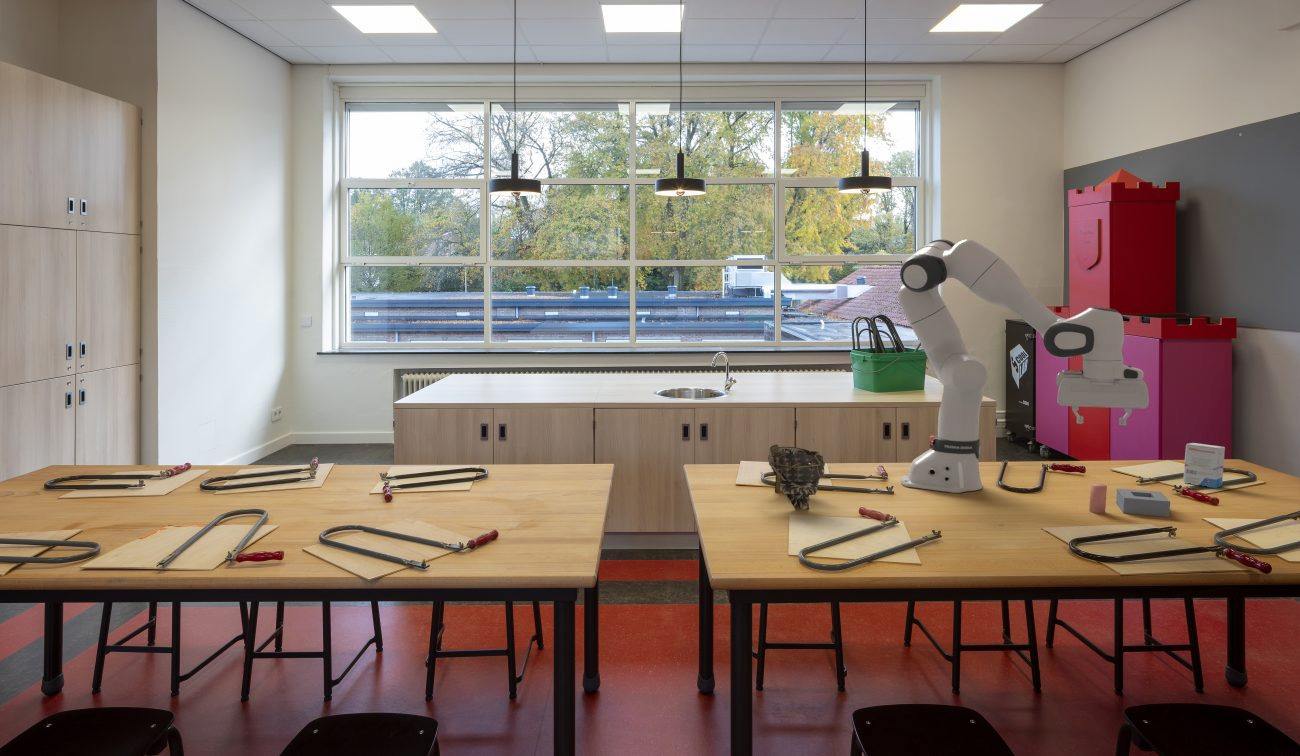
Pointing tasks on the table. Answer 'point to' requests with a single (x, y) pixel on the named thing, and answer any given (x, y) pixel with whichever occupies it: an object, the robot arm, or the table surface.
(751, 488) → the table surface
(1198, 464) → the ink box
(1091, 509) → the peg
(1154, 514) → the socket
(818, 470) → the checked fabric bag
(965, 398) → the robot arm
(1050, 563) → the table surface
